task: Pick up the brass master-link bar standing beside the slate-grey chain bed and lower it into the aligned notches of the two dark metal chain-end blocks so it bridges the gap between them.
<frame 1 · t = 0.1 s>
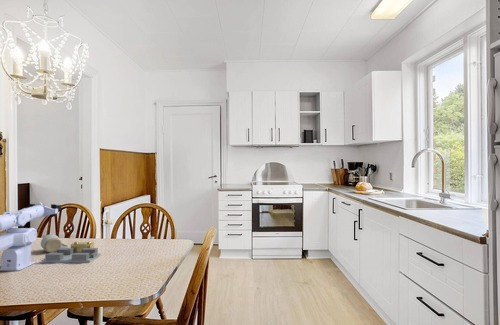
hand: (52, 207, 133), 22 cm above the table, tool horizontal, fingers open, 7 cm apart
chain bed: (72, 259, 123), on the table
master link: (82, 254, 131), on the table
ceramic mug: (54, 251, 135), on the table
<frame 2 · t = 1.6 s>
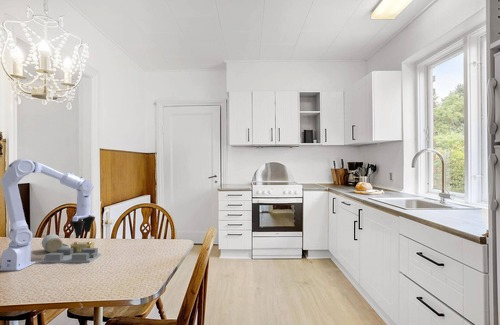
hand: (82, 233, 132), 9 cm above the table, tool pointing down, fingers open, 7 cm apart
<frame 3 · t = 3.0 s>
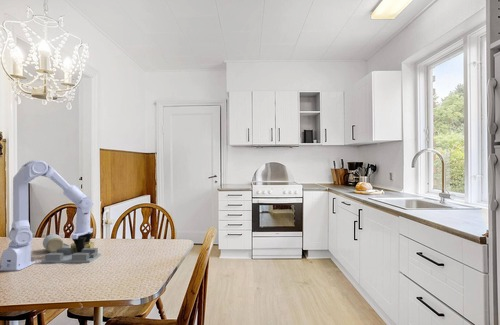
hand: (82, 250, 131), 1 cm above the table, tool pointing down, fingers closed on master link, 3 cm apart
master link: (82, 253, 131), on the table, touching gripper
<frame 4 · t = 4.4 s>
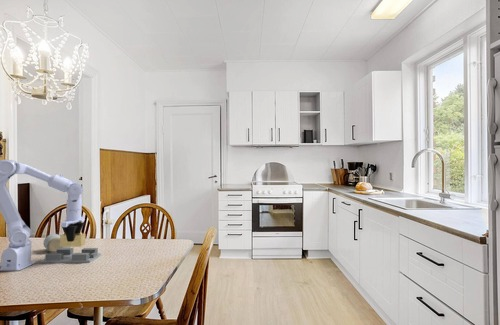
hand: (73, 240, 124), 8 cm above the table, tool pointing down, fingers closed on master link, 3 cm apart
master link: (72, 245, 123), point 6 cm above the table, touching gripper
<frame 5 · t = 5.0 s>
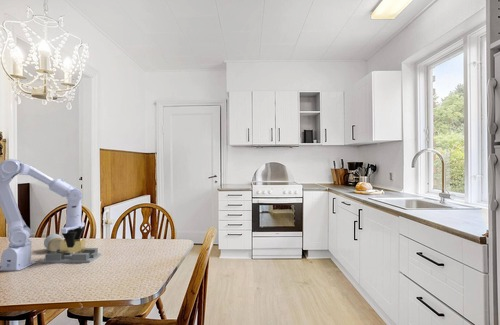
hand: (72, 246, 123), 6 cm above the table, tool pointing down, fingers closed on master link, 3 cm apart
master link: (72, 251, 123), point 3 cm above the table, touching gripper
when the fingers open (4 cm above the table, at t = 5.7 s): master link stays where it is, resting on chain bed.
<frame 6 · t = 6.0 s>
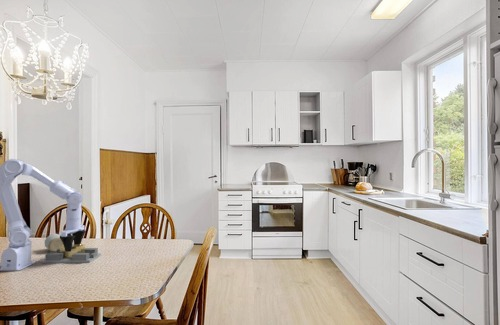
hand: (72, 249, 123), 4 cm above the table, tool pointing down, fingers open, 6 cm apart
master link: (72, 256, 123), point 1 cm above the table, touching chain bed
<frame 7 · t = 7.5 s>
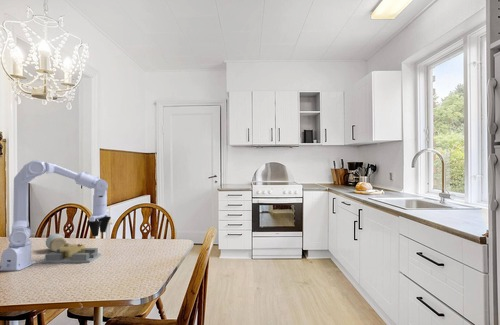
hand: (99, 234, 129), 10 cm above the table, tool pointing down, fingers open, 7 cm apart
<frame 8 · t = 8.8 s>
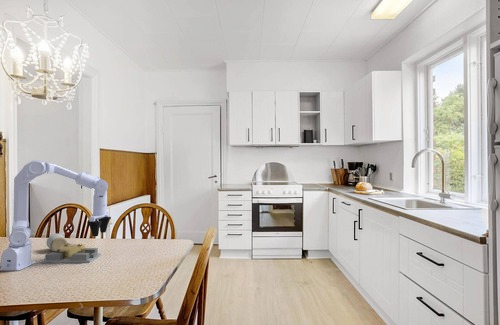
hand: (99, 234, 129), 10 cm above the table, tool pointing down, fingers open, 7 cm apart
at the end: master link 0.1 cm off-centre on the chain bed, point 1.0 cm above the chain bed's base; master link tilted 0°; the gripper is holding nothing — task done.
